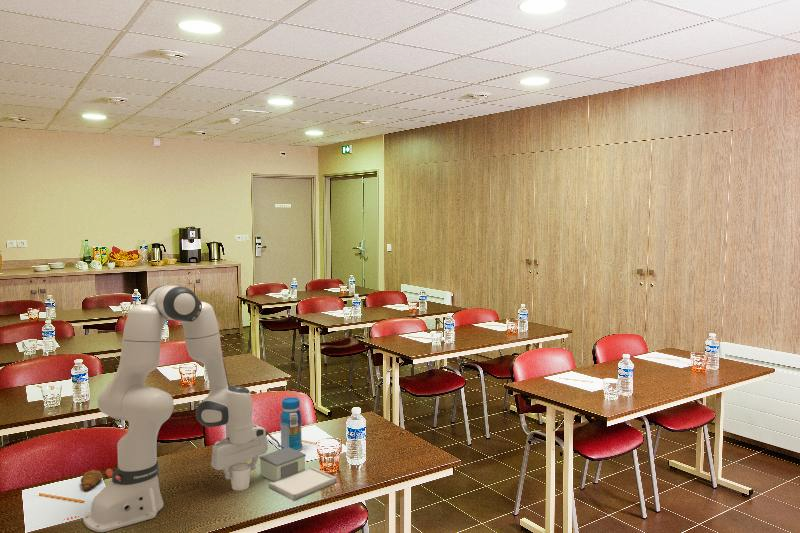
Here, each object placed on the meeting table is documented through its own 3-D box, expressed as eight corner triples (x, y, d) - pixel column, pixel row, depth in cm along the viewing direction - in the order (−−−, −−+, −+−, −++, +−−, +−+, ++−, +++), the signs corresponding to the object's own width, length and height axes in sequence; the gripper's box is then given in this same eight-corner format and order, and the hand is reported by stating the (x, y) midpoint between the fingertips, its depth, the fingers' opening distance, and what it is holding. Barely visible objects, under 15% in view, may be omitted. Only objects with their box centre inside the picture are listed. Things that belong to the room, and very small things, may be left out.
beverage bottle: (276, 452, 231) (276, 401, 229) (286, 444, 239) (285, 395, 237) (297, 454, 229) (296, 403, 227) (305, 446, 237) (305, 397, 235)
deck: (294, 500, 191) (294, 480, 190) (250, 478, 208) (250, 459, 207) (336, 482, 204) (336, 463, 204) (292, 462, 221) (291, 445, 220)
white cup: (253, 482, 204) (253, 462, 203) (246, 491, 197) (246, 471, 197) (234, 481, 205) (234, 462, 204) (226, 490, 198) (226, 470, 197)
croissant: (97, 491, 198) (97, 477, 197) (75, 494, 196) (74, 479, 196) (107, 475, 211) (106, 461, 210) (86, 477, 209) (85, 463, 209)
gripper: (217, 445, 190) (218, 487, 192) (269, 428, 206) (270, 466, 207) (206, 440, 194) (208, 481, 196) (258, 423, 210) (259, 461, 211)
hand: (240, 473), depth 201 cm, fingers open, 8 cm apart
